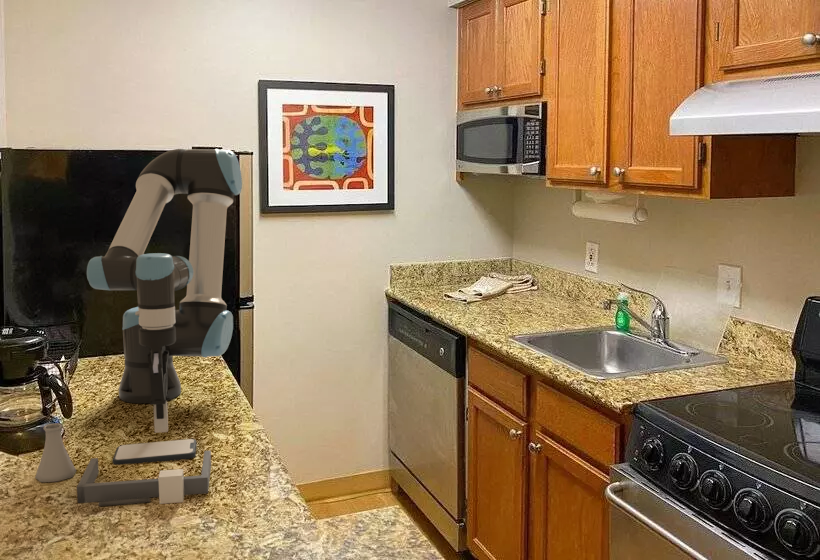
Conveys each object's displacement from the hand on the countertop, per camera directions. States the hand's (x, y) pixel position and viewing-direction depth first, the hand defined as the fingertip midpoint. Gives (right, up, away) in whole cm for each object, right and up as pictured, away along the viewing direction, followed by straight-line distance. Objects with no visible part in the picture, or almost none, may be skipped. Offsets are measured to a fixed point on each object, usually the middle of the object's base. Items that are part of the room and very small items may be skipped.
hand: (161, 431), depth 168 cm
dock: (+5, -5, -25) cm, 26 cm away
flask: (-14, -5, -21) cm, 25 cm away
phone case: (+2, -3, -9) cm, 10 cm away
